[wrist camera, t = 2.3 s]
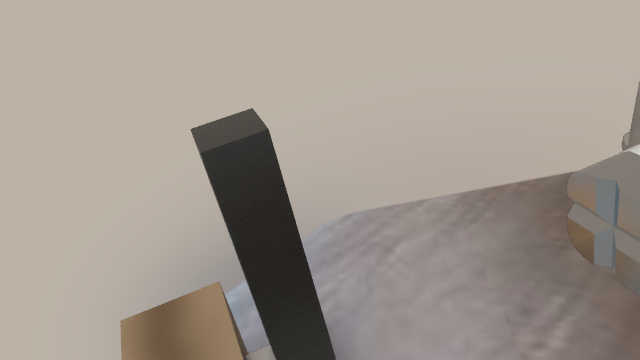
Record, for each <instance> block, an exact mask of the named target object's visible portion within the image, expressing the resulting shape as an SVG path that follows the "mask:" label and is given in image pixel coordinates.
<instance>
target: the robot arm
mask: <svg viewBox="0 0 640 360" xmlns="http://www.w3.org/2000/svg"><path fill="white" fill-rule="evenodd" d="M622 149H623V152H621V153H620V154H618V155H615V156H613V157H611V158H608V159H606V160H603V161H601V162H599V163H596V164H594V165H591V166H589V167H587V168H584V169H582V170H579V171H577V172H575V173H572V174H571V176H570V178H569V181H568V184H567V195H568V196H569V198H570V199H571V200H572V201H573V202H574V205H573V207H572V209H571V211H570V212H569V214H568V216H567V222H568V234H569V236H570V238H571V240H572V242H573V245H574V247H575V248H576V249H577V250H578V251H579V253H580V254H581V255H582V256H583V257H584V258H586V259H587V260H589V261H590V262H591V263H593V264H594V265H599V266H604V267H608V268H612V271H613V275H614V279H615V280H617V281H618V282H620V283H621V284H622V285H624V286H625V287H627V288H628V289H630V290H631V291H633V292H634V293H635V294H637V295H638V296H640V82H639V87H638V92H637V97H636V102H635V108H634V113H633V119H632V124H631V129H630V132H628V133H626V134H625V135H624V136H623V141H622Z"/></svg>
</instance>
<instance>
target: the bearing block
mask: <svg viewBox="0 0 640 360" xmlns="http://www.w3.org/2000/svg"><path fill="white" fill-rule="evenodd" d="M121 347H122V360H247V359H246V355H248V352H247V350H246V347H245V345H244V342H243V340H242V337H241V335H240V332H239V330H238V327H237V325H236V322H235V320H234V317H233V315H232V312H231V310H230V307H229V305H228V302H227V300H226V297H225V295H224V292H223V290H222V287H221V285H220V283H219V282H217V283H214V284H212V285H210V286H207V287H204V288H202V289H200V290H197V291H194V292H192V293H189V294H187V295H185V296H182V297H179V298H177V299H174V300H172V301H169V302H167V303H164V304H162V305H159V306H157V307H154V308H152V309H149V310H147V311H144V312H142V313H139V314H137V315H134V316H132V317H129V318H126V319H124V320H121Z"/></svg>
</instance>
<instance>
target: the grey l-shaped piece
mask: <svg viewBox="0 0 640 360" xmlns="http://www.w3.org/2000/svg"><path fill="white" fill-rule="evenodd" d="M191 132H192V135H193V137H194V140H195V143H196V146H197V148H198V151H199V154H200V156H201V159H202V162H203V165H204V167H205V170H206V173H207V175H208V178H209V181H210V184H211V186H212V189H213V192H214V194H215V197H216V200H217V202H218V205H219V208H220V211H221V213H222V216H223V219H224V221H225V224H226V227H227V230H228V232H229V235H230V238H231V240H232V243H233V246H234V248H235V251H236V254H237V256H238V259H239V262H240V265H241V267H242V270H243V273H244V275H245V278H246V281H247V284H248V286H249V289H250V292H251V294H252V297H253V300H254V303H255V305H256V308H257V311H258V313H259V316H260V319H261V321H262V324H263V327H264V330H265V332H266V335H267V338H268V340H269V343H270V345H269V346H267V347H265V348H262V349H260V350H258V351H255V352H253V353H251V354H248V355H246V359H247V360H336V358H335V354H334V351H333V348H332V344H331V341H330V337H329V334H328V330H327V327H326V324H325V320H324V317H323V313H322V310H321V307H320V303H319V300H318V296H317V293H316V290H315V286H314V283H313V279H312V276H311V272H310V269H309V266H308V262H307V259H306V255H305V252H304V249H303V245H302V242H301V238H300V235H299V232H298V228H297V225H296V221H295V218H294V215H293V211H292V208H291V204H290V201H289V197H288V194H287V191H286V187H285V184H284V180H283V177H282V174H281V170H280V167H279V163H278V160H277V156H276V153H275V150H274V146H273V143H272V139H271V136H270V133H269V129H268V128H267V127H266V125H265V124H264V123H263V121H262V120H261V119H260V118H259V116H258V115H257V114H256V112H255V111H254V110H253V108H252V109H248V110H246V111H243V112H240V113H237V114H234V115H231V116H228V117H225V118H222V119H219V120H216V121H213V122H210V123H207V124H204V125H201V126H198V127H196V128H192V129H191Z"/></svg>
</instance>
